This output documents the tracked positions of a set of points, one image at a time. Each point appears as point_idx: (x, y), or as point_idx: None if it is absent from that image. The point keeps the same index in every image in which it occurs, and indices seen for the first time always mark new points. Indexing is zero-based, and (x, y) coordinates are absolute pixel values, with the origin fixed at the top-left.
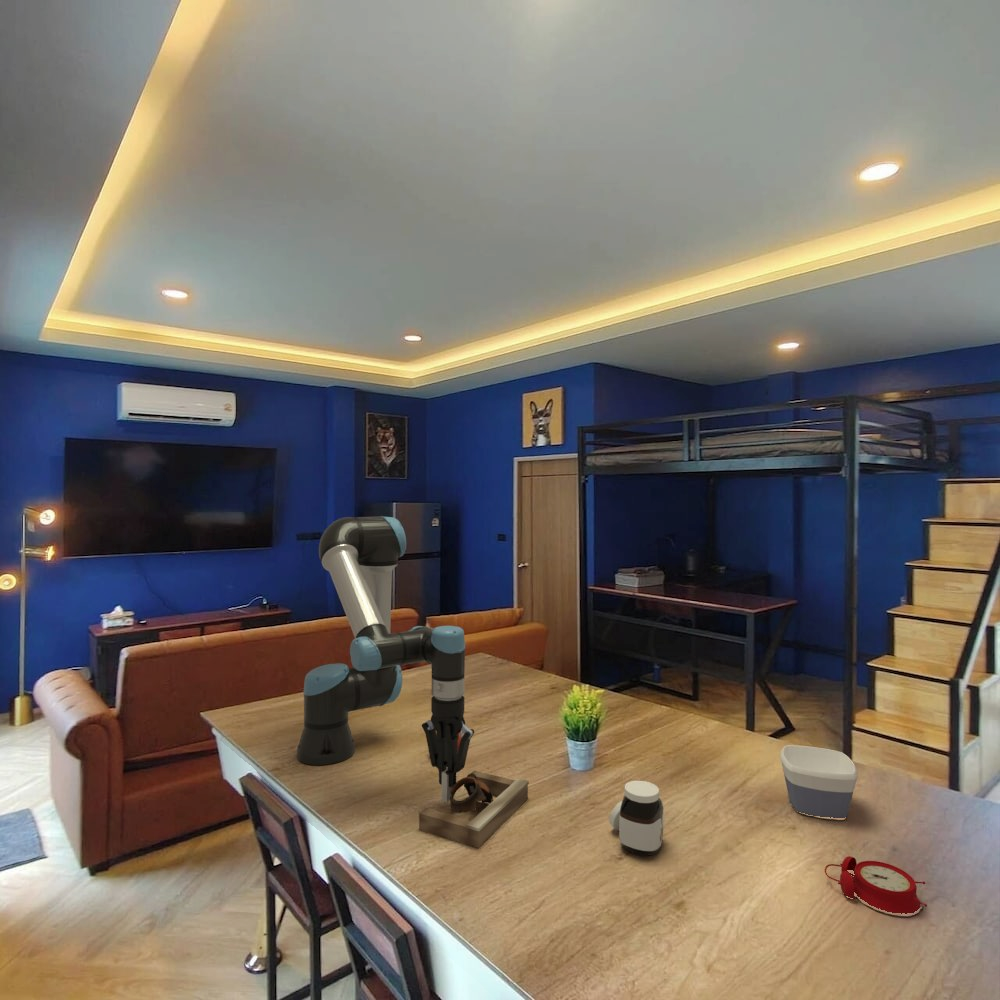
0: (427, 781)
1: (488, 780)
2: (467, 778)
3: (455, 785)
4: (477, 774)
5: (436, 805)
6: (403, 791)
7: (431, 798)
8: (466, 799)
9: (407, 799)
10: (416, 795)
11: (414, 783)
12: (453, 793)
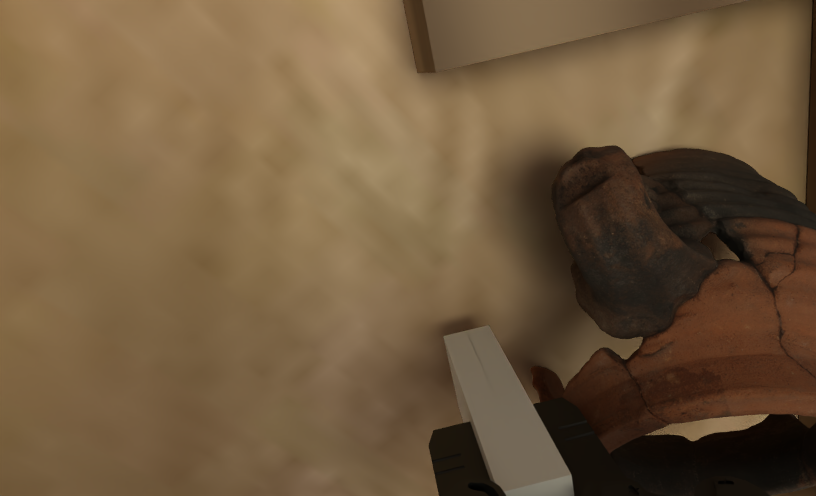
0: (57, 205)
1: (659, 20)
2: (734, 414)
3: (612, 450)
4: (506, 6)
5: (407, 388)
6: (84, 419)
7: (311, 354)
8: (779, 491)
9: (205, 460)
10: (201, 394)
11: (19, 296)
12: None
